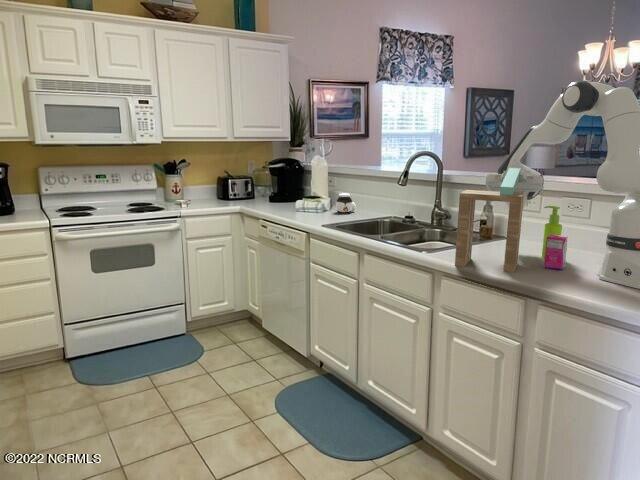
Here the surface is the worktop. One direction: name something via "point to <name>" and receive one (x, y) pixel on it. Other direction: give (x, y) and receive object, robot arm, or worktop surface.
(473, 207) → the bridge
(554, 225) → the soap dispenser
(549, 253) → the supplement box
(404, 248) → the worktop surface
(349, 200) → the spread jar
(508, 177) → the bar
